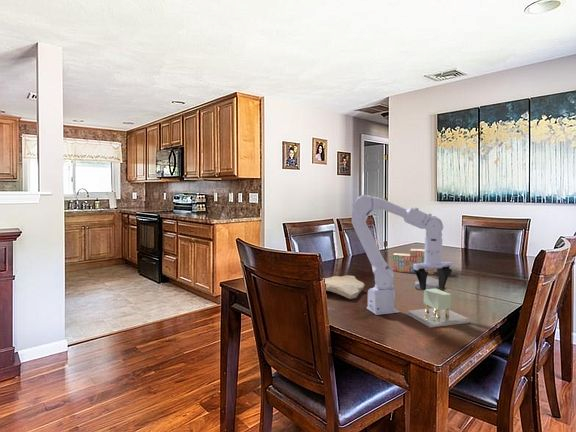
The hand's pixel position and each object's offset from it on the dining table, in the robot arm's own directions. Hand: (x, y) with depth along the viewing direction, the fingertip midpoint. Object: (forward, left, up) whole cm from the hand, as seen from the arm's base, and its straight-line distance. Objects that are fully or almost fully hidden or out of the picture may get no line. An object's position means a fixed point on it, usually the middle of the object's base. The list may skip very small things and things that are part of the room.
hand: (432, 288), depth 133 cm
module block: (0, -3, -5) cm, 6 cm away
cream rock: (-21, +39, -10) cm, 46 cm away
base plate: (0, -3, -10) cm, 10 cm away
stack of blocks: (+36, +64, -10) cm, 74 cm away
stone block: (+23, +33, -10) cm, 41 cm away
